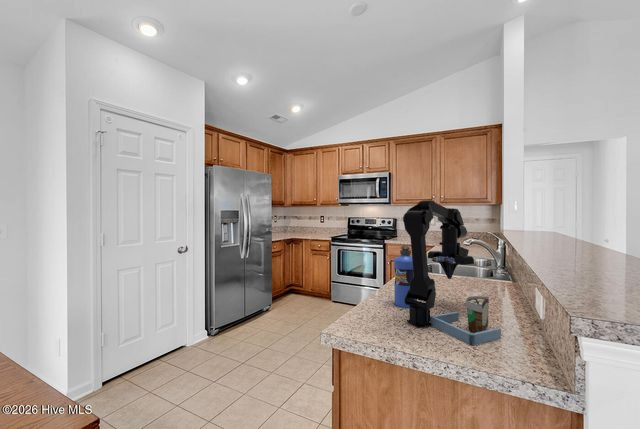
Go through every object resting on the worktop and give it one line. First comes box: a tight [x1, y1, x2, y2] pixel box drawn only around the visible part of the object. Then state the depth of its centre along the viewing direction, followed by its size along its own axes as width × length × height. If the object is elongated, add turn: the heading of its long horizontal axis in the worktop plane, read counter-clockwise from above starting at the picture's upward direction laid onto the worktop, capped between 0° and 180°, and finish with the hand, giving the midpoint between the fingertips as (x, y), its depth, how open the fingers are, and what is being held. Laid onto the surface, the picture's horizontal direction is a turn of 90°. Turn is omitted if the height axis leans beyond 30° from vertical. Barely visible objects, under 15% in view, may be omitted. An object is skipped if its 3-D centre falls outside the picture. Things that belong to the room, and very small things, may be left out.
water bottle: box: [393, 244, 418, 309], centre depth 125 cm, size 9×9×25 cm
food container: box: [464, 295, 490, 333], centre depth 99 cm, size 12×6×10 cm, turn 141°
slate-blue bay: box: [430, 311, 502, 347], centre depth 97 cm, size 12×17×3 cm
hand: (449, 278), depth 120 cm, fingers closed
